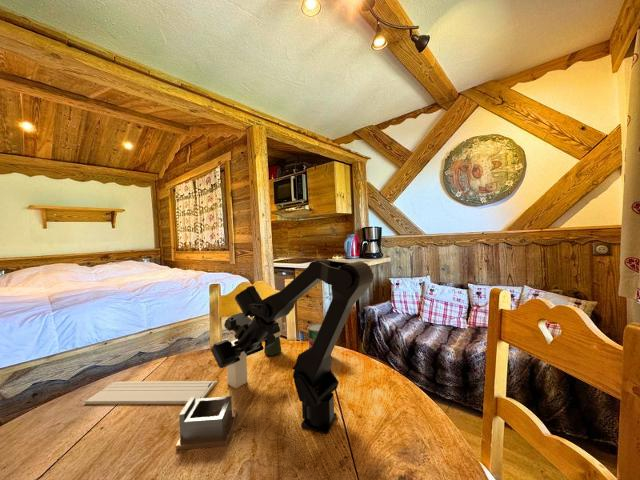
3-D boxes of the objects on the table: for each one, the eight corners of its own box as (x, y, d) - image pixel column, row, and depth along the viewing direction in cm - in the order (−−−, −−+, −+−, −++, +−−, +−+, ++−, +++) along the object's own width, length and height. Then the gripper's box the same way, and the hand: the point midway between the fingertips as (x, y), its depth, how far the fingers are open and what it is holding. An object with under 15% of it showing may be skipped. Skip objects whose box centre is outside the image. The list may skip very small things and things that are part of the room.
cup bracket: (237, 413, 65) (236, 389, 65) (226, 445, 55) (225, 416, 55) (194, 417, 64) (193, 392, 64) (176, 450, 55) (175, 420, 54)
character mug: (289, 349, 102) (288, 315, 102) (285, 357, 95) (284, 321, 95) (261, 348, 103) (260, 315, 103) (255, 357, 96) (254, 320, 96)
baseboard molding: (120, 382, 83) (85, 407, 71) (120, 372, 83) (84, 396, 71) (219, 381, 82) (200, 406, 70) (219, 371, 81) (200, 395, 69)
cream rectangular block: (247, 382, 80) (246, 341, 79) (235, 388, 76) (234, 346, 76) (238, 378, 82) (237, 338, 82) (227, 384, 79) (226, 343, 79)
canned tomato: (304, 356, 95) (304, 325, 95) (323, 351, 100) (322, 321, 99) (316, 365, 89) (315, 332, 88) (336, 359, 93) (335, 327, 93)
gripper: (268, 299, 84) (246, 327, 91) (213, 314, 69) (192, 347, 76) (287, 328, 80) (262, 356, 86) (233, 351, 64) (209, 383, 71)
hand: (233, 359), depth 80 cm, fingers open, 4 cm apart
